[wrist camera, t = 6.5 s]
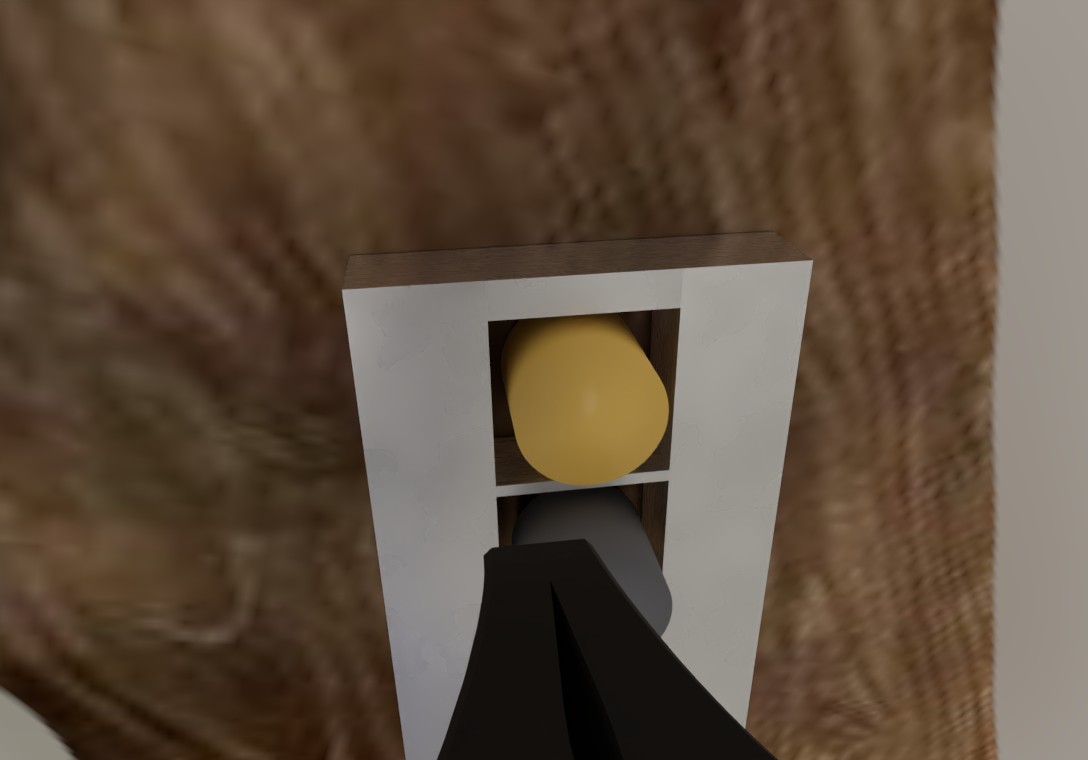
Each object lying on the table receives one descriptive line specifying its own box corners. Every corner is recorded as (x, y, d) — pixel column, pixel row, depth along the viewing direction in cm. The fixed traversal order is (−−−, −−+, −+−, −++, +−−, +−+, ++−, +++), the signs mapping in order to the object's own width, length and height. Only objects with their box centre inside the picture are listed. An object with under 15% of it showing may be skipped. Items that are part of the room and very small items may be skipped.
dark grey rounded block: (637, 579, 22) (668, 662, 19) (513, 593, 22) (527, 679, 19) (642, 475, 20) (676, 550, 18) (509, 487, 20) (524, 566, 17)
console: (719, 679, 26) (743, 736, 24) (409, 719, 25) (408, 782, 23) (772, 231, 19) (813, 259, 17) (349, 255, 18) (341, 290, 16)
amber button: (632, 414, 21) (664, 478, 18) (503, 425, 21) (516, 492, 18) (638, 292, 19) (673, 342, 17) (497, 301, 19) (511, 354, 16)
